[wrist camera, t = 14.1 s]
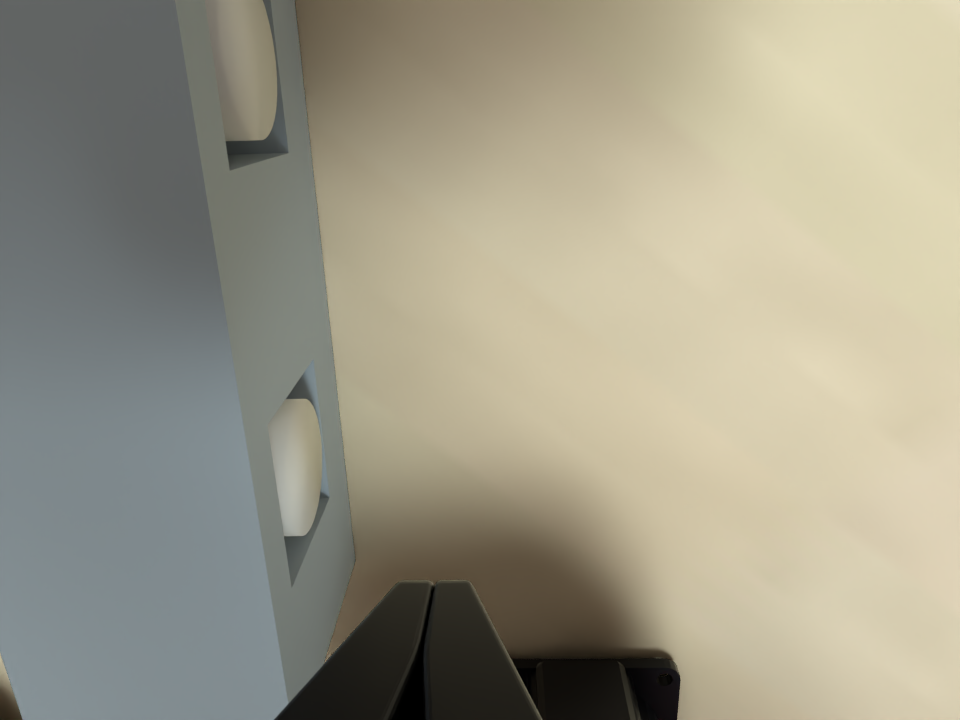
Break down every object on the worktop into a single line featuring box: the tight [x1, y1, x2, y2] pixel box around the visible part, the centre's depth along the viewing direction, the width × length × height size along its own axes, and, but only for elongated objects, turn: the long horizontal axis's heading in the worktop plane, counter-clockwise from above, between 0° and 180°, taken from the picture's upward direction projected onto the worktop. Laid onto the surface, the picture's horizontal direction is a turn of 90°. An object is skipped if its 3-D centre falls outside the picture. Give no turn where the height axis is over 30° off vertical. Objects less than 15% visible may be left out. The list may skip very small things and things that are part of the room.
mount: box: [0, 0, 355, 720], centre depth 16 cm, size 20×6×7 cm, turn 2°
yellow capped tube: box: [268, 399, 322, 536], centre depth 17 cm, size 4×9×4 cm, turn 92°
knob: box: [205, 0, 277, 141], centre depth 14 cm, size 4×9×4 cm, turn 92°
